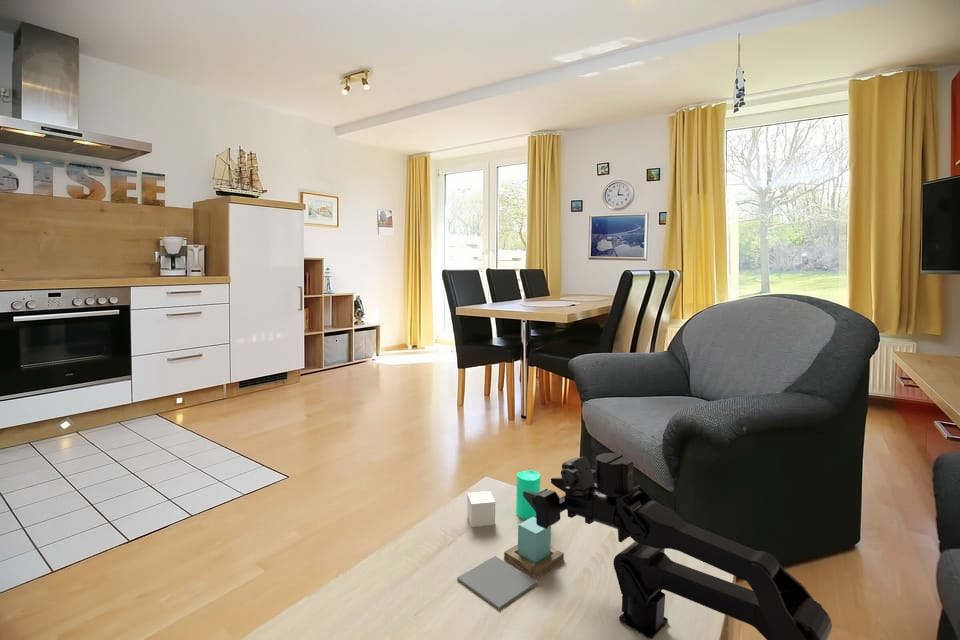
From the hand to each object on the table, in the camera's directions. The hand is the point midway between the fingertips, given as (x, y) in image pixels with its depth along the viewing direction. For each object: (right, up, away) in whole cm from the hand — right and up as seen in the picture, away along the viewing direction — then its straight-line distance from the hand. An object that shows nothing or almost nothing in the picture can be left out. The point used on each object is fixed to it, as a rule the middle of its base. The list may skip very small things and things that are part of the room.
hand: (537, 486), depth 107 cm
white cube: (-12, -15, +19) cm, 27 cm away
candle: (0, -14, +22) cm, 26 cm away
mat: (-9, -18, -5) cm, 20 cm away
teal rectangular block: (-1, -17, +3) cm, 17 cm away
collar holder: (-1, -17, +3) cm, 17 cm away
